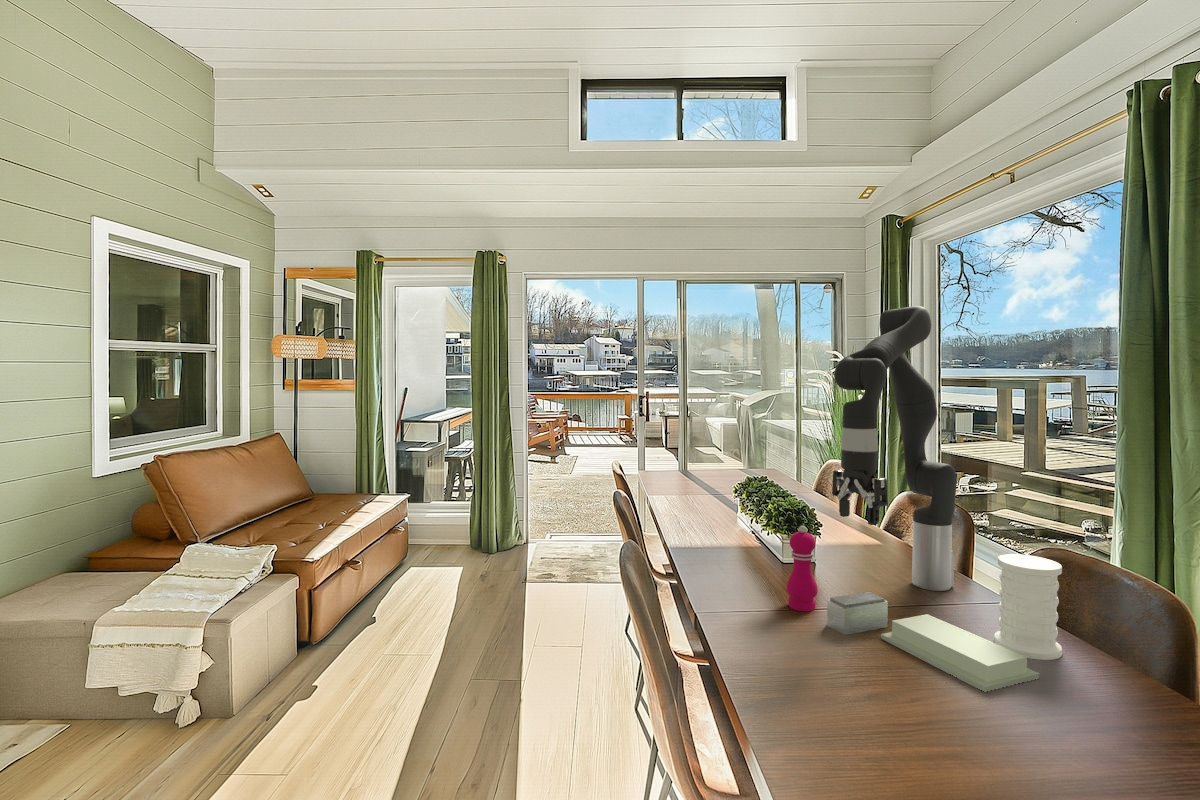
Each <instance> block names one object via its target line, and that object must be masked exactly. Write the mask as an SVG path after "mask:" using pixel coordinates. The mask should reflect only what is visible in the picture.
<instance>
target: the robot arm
mask: <svg viewBox="0 0 1200 800" xmlns="http://www.w3.org/2000/svg"><path fill="white" fill-rule="evenodd" d="M931 330H932V321H931V315H930V312H929V311H928V310H927V308H926V307H924V306H920V305H917V306H916V305H914V306H906V307H901V308H900V307H899V308H893V309H889V310H888V309H887V310H885V311H883V312H882V313H881V314H880V317H879V332H880V335H879V336H877V337H875V338H873V339H872V340H870V342H868V343H866V345H865V346H864V348H862V349H861V350H859V351H856V352H855V351H854V352H853V353H851V354H849V355H847V356H845V357H844V358H842V359H841V360H840V361H838V363H837V364H836V366H835V368H834V373H833V375H834V377H833V378H834V381H835V383H836V385H837V386H838V387H839V388H840V389H842V390H845V391H864V393H863V396H862V397H861V398H860V399H856V400H851V401H848V402H847V401H846V402H845V403H843V407H842V432H841V439H840V443H841V445H840V446H841V447H840V467H841V468H842V469H836V470H835V469H834V470H833V472H832V485H831V486H832V487H831V495H832V496H835V497H837V499H838V502H839V503H838V506H839V507H838V508H839V509H838V512H839V515H840V517H843V518H844V517H845V518H846V517H850V513H851V512H850V511H851V510H850V508H851V504H850V503H851V500H850V497H851V496H852V494H857V495H858V496H859V495H860V496H861V497H862V499H863V500H864V501H865V502H866V504H867V506H868V507H867V524H868V525H870V526H876V525H878V524H879V523H880V522H879V521H880V509H881V507H886V506H888V504H889V503H888V501H889V500H888V499H889V498H888V480H887V478H886V477H880V478H876V475H875V472H876V471H877V469H878V458H879V457H878V455H879V454H878V449H879V447H878V445H879V439H878V438H879V437H878V432H877V431H878V425H877V424H878V423H877V422H878V408H879V403H880V399H881V395H882V391H883V389H884V387H885V383H886V379H887V374H888V373H887V370H888V369H889V371H890V375H891V381H892V387H893V393H894V401H895V406H896V407H895V408H896V410H897V411H896V412H897V416H898V421H899V426H900V432H901V438H902V445H903V446H902V447H903V457H904V471H905V472H904V473H905V478H906V483H907V486H908V488H909V490H910V491H911V492H912V493H913V494H917V495H921V496H927V497H931V499H930V504H929V505H928V506H923V507H917V508H915V509H914V510H913V512H912V550H911V551H912V557H911V558H912V560H911V561H912V563H911V565H912V566H911V584H912V585H913V586H915V587H917V588H920V589H924V590H927V591H933V592H934V591H937V592H939V591H940V592H942V591H944V592H945V591H949V590H950V589H951V588H952V587H954V585H955V584H954V579H955V577H954V573H955V552H954V550H953V549H952V546H953V545H952V543H953V541H952V540H953V538H952V537H953V536H952V535H953V517H954V513H955V509H956V494H957V484H958V483H957V472H956V470H955V469H954V467H953V465H951V464H949V463H943V462H937V461H930V460H928V459H927V456H926V448H925V447H926V442H927V441H926V440H927V438H928V436H929V434H930V432H931V430H932V428H933V427H934V424H935V422H936V419H937V416H938V409H937V403H936V402H937V401H936V396H935V392H934V391H935V390H934V389H933V387H932V386H931V384H930V383H929V381H928V380H927V379H926V378H925V377H924V376H923V375H922V374H921V373H920V372H919V371H918V370H917V369H916V368H915V366H913V365H912V363H911V362H910V360H909V359H908V357H907V354H906V352H908V351H909V350H910V349H912V348H914V347H915V346H917V345H919V344H921V343H922V342H924V341H926V340H927V339H928V337H930V334H931Z"/></svg>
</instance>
